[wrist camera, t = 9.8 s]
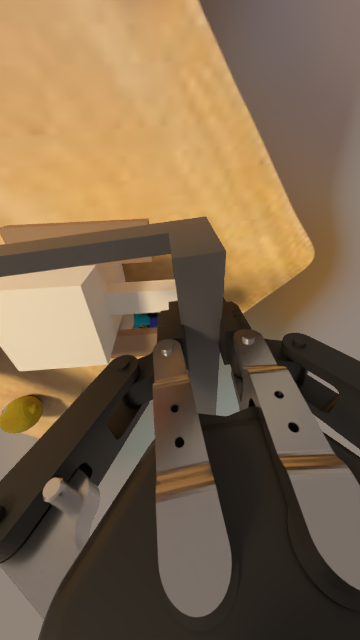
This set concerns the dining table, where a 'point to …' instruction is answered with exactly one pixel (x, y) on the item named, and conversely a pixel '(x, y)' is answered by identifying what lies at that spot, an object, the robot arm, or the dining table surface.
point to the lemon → (21, 414)
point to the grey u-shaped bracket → (189, 271)
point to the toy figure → (138, 320)
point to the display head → (76, 306)
